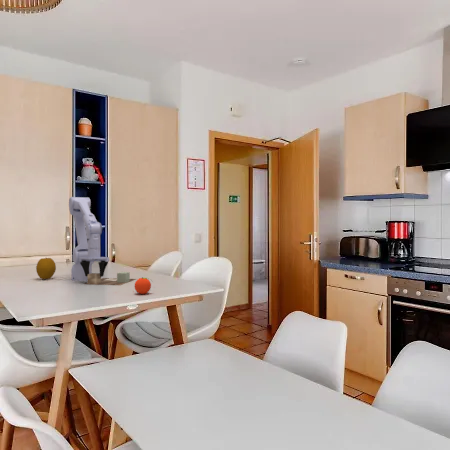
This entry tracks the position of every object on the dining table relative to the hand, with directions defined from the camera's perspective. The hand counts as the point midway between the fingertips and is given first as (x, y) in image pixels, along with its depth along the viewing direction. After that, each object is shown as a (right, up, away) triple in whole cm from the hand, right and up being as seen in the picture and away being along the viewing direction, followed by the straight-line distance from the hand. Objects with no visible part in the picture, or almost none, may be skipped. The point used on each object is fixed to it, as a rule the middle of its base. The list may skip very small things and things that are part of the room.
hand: (94, 276), depth 197 cm
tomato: (+28, -5, -22) cm, 36 cm away
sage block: (+13, -3, +4) cm, 14 cm away
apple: (-32, -4, +20) cm, 38 cm away
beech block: (0, -3, 0) cm, 3 cm away
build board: (+7, -4, +5) cm, 10 cm away
